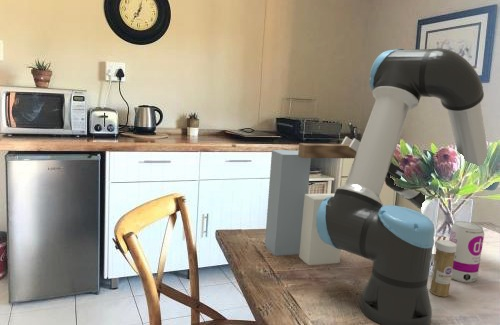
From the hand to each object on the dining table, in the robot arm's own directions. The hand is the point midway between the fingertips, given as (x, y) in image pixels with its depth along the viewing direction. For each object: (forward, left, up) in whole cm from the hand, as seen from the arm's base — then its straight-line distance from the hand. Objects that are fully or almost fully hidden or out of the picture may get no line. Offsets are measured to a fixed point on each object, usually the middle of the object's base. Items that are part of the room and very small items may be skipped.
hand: (348, 141), depth 119 cm
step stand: (-2, +10, -35) cm, 36 cm away
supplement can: (+5, -34, -35) cm, 49 cm away
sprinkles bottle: (-9, -28, -35) cm, 46 cm away
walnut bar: (-2, +3, -4) cm, 6 cm away
